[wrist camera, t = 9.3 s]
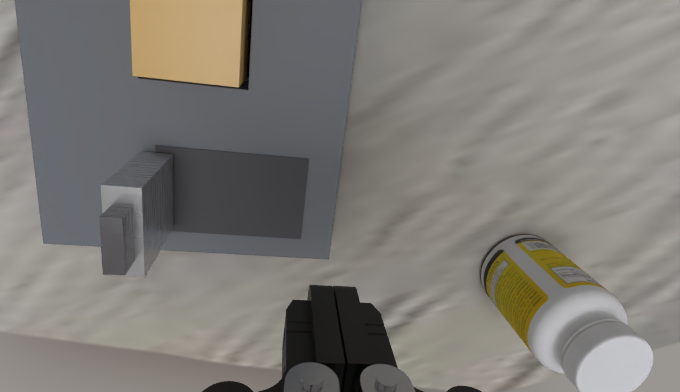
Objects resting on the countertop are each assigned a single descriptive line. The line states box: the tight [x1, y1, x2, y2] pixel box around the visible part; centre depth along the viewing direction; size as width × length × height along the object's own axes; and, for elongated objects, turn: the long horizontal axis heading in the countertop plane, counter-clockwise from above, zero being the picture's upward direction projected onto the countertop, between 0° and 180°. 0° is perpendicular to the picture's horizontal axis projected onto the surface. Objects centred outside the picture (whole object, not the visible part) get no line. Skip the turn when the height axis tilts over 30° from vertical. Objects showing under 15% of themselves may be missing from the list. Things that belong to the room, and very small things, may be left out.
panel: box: [15, 0, 362, 259], centre depth 22 cm, size 21×15×3 cm
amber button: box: [130, 0, 250, 87], centre depth 21 cm, size 4×4×4 cm
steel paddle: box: [99, 152, 173, 278], centre depth 19 cm, size 4×2×6 cm, turn 173°
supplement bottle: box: [481, 235, 653, 392], centre depth 26 cm, size 5×5×10 cm
